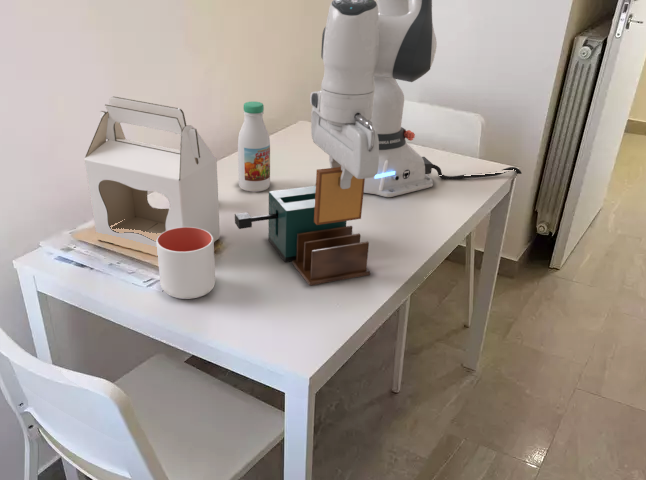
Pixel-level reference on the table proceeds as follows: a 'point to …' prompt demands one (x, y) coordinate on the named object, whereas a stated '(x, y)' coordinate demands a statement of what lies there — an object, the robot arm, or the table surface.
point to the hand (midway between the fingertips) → (340, 184)
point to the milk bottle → (253, 150)
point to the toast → (337, 197)
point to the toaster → (293, 219)
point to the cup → (186, 262)
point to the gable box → (150, 174)
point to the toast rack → (331, 255)
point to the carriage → (251, 219)
